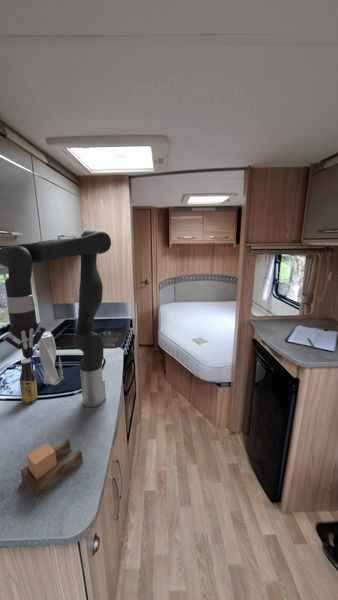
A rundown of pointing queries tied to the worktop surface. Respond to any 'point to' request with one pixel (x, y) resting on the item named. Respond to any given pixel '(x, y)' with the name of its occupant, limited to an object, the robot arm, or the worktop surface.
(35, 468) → the block
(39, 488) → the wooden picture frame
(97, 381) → the robot arm
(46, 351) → the skyscraper
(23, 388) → the sauce bottle
